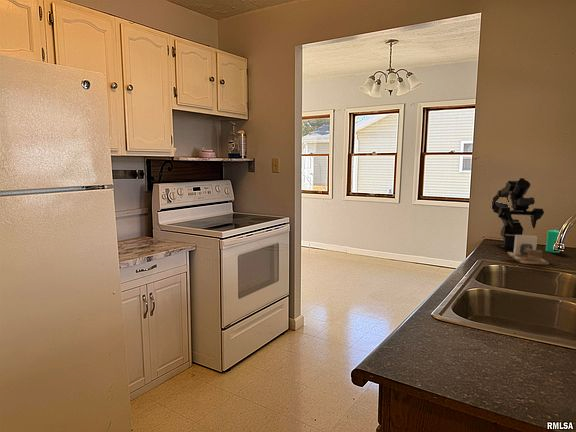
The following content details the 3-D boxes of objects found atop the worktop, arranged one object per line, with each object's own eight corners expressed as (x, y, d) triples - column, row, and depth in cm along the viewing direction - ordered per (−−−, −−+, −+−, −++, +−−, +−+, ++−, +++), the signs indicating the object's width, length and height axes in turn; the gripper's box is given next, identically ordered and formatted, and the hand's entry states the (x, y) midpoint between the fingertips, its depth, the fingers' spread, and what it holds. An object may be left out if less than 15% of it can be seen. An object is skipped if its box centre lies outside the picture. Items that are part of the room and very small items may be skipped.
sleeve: (513, 253, 187) (515, 234, 186) (533, 254, 185) (535, 235, 184) (515, 254, 184) (517, 235, 183) (536, 255, 182) (538, 236, 181)
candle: (555, 250, 202) (558, 227, 200) (562, 252, 196) (565, 229, 194) (543, 249, 202) (545, 226, 201) (549, 252, 196) (552, 228, 195)
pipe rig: (507, 253, 192) (508, 242, 191) (532, 255, 190) (533, 243, 189) (521, 263, 174) (522, 250, 173) (548, 264, 172) (550, 251, 171)
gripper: (502, 190, 191) (507, 216, 182) (545, 191, 187) (552, 218, 178) (495, 204, 200) (500, 230, 191) (536, 205, 196) (542, 232, 187)
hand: (523, 227), depth 187 cm, fingers open, 9 cm apart
